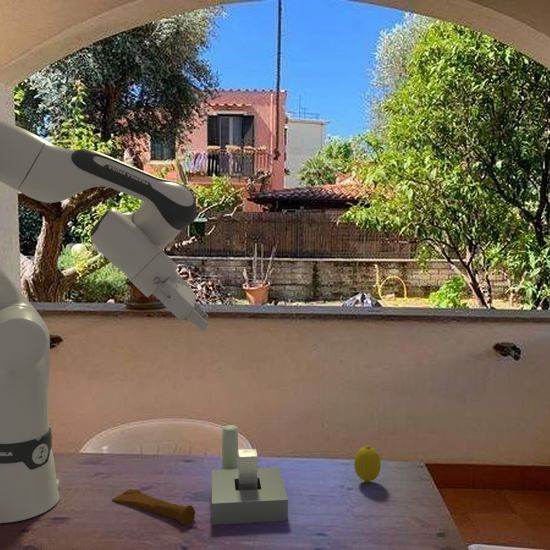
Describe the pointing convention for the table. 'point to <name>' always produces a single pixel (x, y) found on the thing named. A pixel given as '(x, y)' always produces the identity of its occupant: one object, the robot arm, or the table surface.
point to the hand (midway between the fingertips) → (206, 323)
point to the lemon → (367, 464)
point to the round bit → (230, 447)
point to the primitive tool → (157, 506)
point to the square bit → (247, 469)
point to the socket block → (248, 498)
